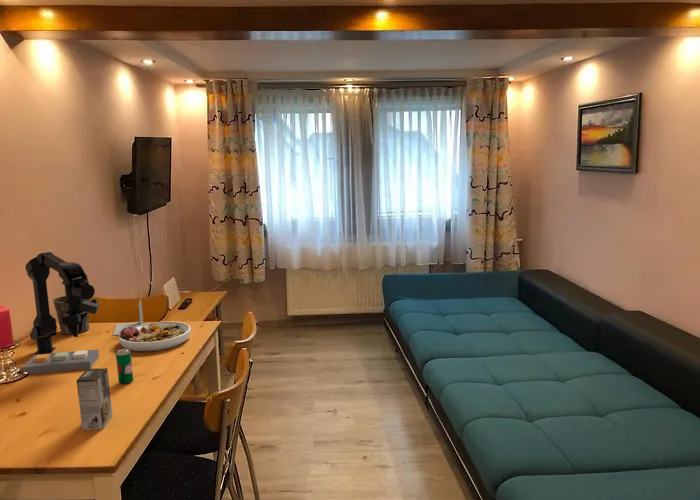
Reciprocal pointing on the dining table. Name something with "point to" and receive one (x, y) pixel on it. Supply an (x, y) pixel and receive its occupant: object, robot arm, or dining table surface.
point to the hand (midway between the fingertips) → (78, 334)
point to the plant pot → (61, 311)
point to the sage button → (61, 356)
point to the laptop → (125, 325)
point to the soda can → (124, 366)
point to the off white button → (80, 354)
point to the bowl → (154, 336)
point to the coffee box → (94, 399)
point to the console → (61, 363)
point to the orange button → (42, 358)
